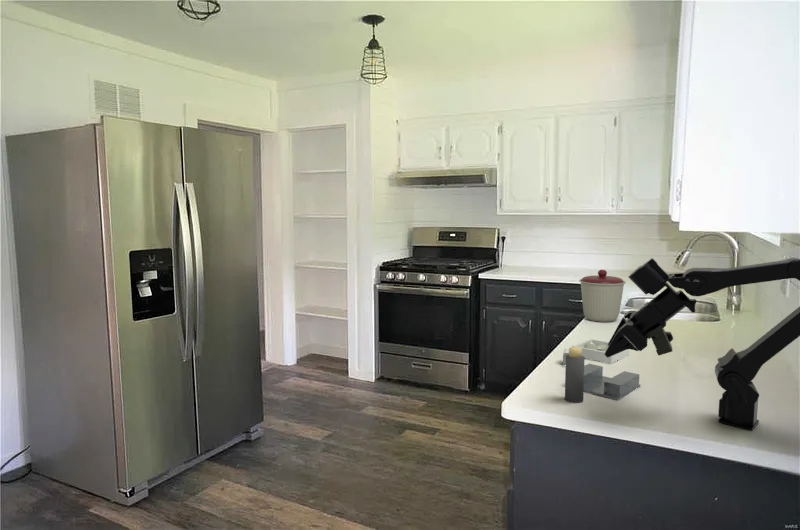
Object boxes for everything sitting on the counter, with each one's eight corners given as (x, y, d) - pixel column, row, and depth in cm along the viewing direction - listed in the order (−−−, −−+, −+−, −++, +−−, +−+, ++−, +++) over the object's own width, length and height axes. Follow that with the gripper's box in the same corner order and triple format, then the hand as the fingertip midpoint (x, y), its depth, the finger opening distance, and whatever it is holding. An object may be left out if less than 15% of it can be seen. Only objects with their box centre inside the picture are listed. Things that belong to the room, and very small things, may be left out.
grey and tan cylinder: (586, 399, 135) (587, 348, 134) (577, 404, 132) (579, 352, 131) (570, 395, 138) (571, 345, 137) (561, 399, 135) (562, 348, 134)
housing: (640, 386, 144) (640, 373, 144) (617, 400, 134) (618, 386, 134) (590, 375, 154) (590, 362, 154) (565, 387, 144) (566, 374, 144)
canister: (592, 313, 239) (594, 266, 237) (632, 320, 225) (634, 269, 223) (569, 319, 228) (570, 269, 226) (609, 326, 214) (611, 273, 212)
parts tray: (628, 355, 173) (629, 345, 173) (611, 363, 164) (611, 353, 164) (590, 348, 183) (590, 338, 182) (571, 355, 174) (571, 346, 173)
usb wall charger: (577, 362, 166) (577, 350, 166) (576, 369, 160) (576, 356, 159) (563, 361, 168) (564, 348, 167) (562, 367, 161) (562, 354, 161)
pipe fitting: (603, 353, 178) (583, 352, 178) (605, 342, 178) (585, 340, 178) (613, 360, 170) (592, 359, 170) (615, 348, 170) (594, 347, 170)
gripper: (689, 346, 114) (630, 389, 120) (685, 327, 131) (633, 366, 137) (649, 306, 117) (594, 350, 123) (650, 293, 134) (601, 332, 139)
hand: (607, 350), depth 130 cm, fingers open, 9 cm apart
